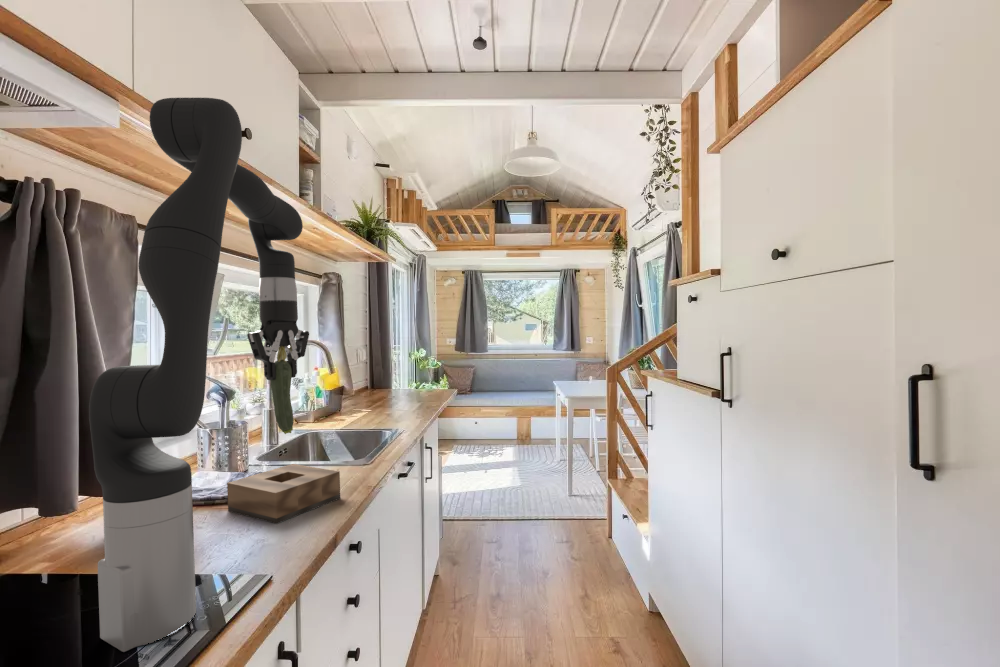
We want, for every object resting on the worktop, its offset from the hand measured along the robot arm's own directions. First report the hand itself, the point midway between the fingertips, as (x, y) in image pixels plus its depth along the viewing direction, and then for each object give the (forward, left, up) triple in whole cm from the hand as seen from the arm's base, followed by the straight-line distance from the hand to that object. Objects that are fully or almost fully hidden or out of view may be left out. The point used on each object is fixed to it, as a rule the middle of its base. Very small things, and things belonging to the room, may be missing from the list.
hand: (281, 378), depth 106 cm
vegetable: (0, 0, -12) cm, 12 cm away
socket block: (0, 0, -27) cm, 27 cm away
